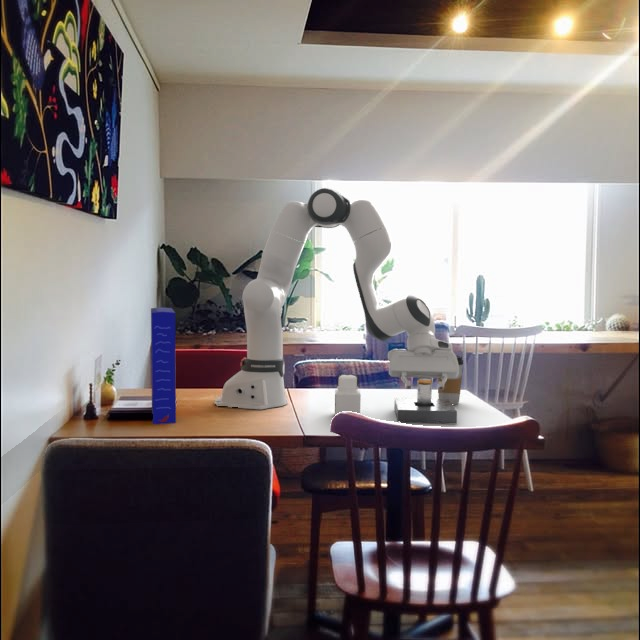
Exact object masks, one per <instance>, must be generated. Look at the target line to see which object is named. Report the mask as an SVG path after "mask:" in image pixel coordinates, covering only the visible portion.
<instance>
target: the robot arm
mask: <svg viewBox="0 0 640 640" xmlns="http://www.w3.org/2000/svg"><path fill="white" fill-rule="evenodd" d="M339 226H342V227H343V228H345V230H347V233H348V234H349V236H350V238H351V240H352V242H353V244H354V248H355V261H354V262H353V265H352V267H353V268H352V269H353V275H354V280H355V284H356V287H357V290H358V294H359V298H360V301H361V302H360V303H361V305H362V308H363V312H364V319H365V325H366V329H367V332H368V333H369V335H370V337H371V338H374V339H375V340H378V341H380V342H385V341H388V340H390V339H392V338H394V337H395V336H397V335H400V334H402V333H406V335H407V339H406V340H407V341H406V348H399V349H398V348H393V349H391V350H389V351H388V352H387V360H388V362H389V365H388V375H390V377H391V378H400V380H401V381H402V382H403V384H404V385H405V386H404V387H405V389H406V390H407V389H408V390H411V388H412V382H411V381H412V380H408V378H417V379H418V378H420V377H427V378H432V379H438V378H442V382H439V384H438V383H437V388H438V387H439V389H440V390H444V384H445V382H446V381H447V378H456V377H457V376H458V374H459V365H458V360H457V357H456V355H457V354H456V353H455V352H454V351H453V344H452V343H450V342H447V341H444V340H440V339H437V338H436V335H435V334H436V325H435V319H434V315H433V311H432V310H431V308H430V306H429V305H428V304H426V303H425V302H424V301H423V300H422V299H420V298H419V297H416V296H414V295H413V294H412V295H411V294H409V295H406V296H405V295H404V296H403V297H401V298H399V299H396V300H394V301H392V302H390V303H388V304H385V305H383V306H380V304H379V301H378V298H377V293H376V290H375V287H374V283H373V282H374V281H373V280H374V276H375V273H376V271H378V269H379V268H381V266H382V265H383V264H384V262H386V260H387V259H388V258H389V256H390V255H391V253H392V249H393V238H392V236H391V233H390V231H389V229H388V227H387V225H386V221H384V218H383V216H382V214H381V213H380V211H379V210H378V209H377V207H376V205H375V204H374V203H373V202H372V201H371V200H370V199H368V198H359V199H355V200H352V201H350V200H349V199H348V198H347V197H345V196H344V195H342V194H341V193H340V192H339V191H337V190H335V189H333V188H329V187H324V188H322V187H321V188H319V189H317V190H316V191H314V192H313V193H312V194H311V195H310V196H309V199H308V202H305V203H304V202H301V201H297V200H291V201H288V202H286V203H285V204H284V205H283V207H282V208H281V209H280V211H279V213H278V215H277V216H276V218H275V220H274V223H273V225H272V226H271V230H270V232H269V236H268V237H267V240H266V243H265V245H264V249H263V251H262V253H261V260H260V265H259V269H258V273H257V277H256V278H255V279H251V280H250V281H249V282H248V283H247V284H246V285H245V287H244V289H243V292H242V295H241V296H242V297H241V299H242V302H243V310H244V311H243V312H244V319H245V326H246V356H247V357H243V358H242V359H241V361H240V369H241V370H239V371H238V372H236V373H235V374H234V375H233V376H231V377H230V378H229V379H228V380H226V382H225V383H224V385H223V388H222V392H221V396H219V397H217V398H215V400H214V405H215V404H216V405H217V406H216V407H218V406H228V407H227V408H232V407H238V408H237V409H246V410H247V409H249V410H266V409H270V408H271V409H272V408H278V407H283V406H285V405H287V404H288V399H287V395H286V389H285V382H284V376H285V368H286V367H285V358H284V355H283V354H284V353H283V352H284V351H283V350H284V347H283V346H284V339H283V338H284V332H283V327H282V318H281V317H282V316H281V308H283V307H284V305H285V303H286V301H287V297H288V294H289V291H290V288H291V285H292V281H293V278H294V275H295V272H296V267H297V265H298V262H299V261H300V257H301V255H302V252H303V250H304V247H305V245H306V242H307V239H308V236H309V234H310V233H311V231H312V229H313V228H323V229H333V228H336V227H339Z"/></svg>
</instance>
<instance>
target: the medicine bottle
mask: <svg viewBox="0 0 640 640" xmlns="http://www.w3.org/2000/svg"><path fill="white" fill-rule="evenodd" d="M336 380H337V381H336V382H337V384H336V389H335V390H334V415H335V414H337V413H339V412H342V411H352V412H357V413H360V414H361V401H362V399H361V390H360V389H359V376H358V375H356V374H354V373H341V374H339V375H337V377H336Z"/></svg>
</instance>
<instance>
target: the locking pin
mask: <svg viewBox="0 0 640 640" xmlns="http://www.w3.org/2000/svg"><path fill="white" fill-rule="evenodd" d="M432 386H433V378H427V377H420V378H417V390H416V391H417V393H416V396H417V398H416V399H417V406H430V407H431V399H432V395H433V394H432V392H433V391H432V389H433V387H432Z"/></svg>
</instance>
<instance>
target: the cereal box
mask: <svg viewBox="0 0 640 640" xmlns="http://www.w3.org/2000/svg"><path fill="white" fill-rule="evenodd" d="M150 327H151V328H150V330H151V331H150V341H151V342H150V348H151V349H150V351H151V354H150V355H151V360H150V361H151V366H150V368H151V370H150V371H151V415H152V414H153V419H152V424H153V425H160V424H161V425H163V424H164V425H165V424H176V422H177V417H176V416H177V412H176V409H177V407H176V405H177V404H176V403H177V401H176V398H177V396H176V393H177V391H176V389H177V388H176V383H177V382H176V374H177V373H176V370H177V369H176V365H177V364H176V362H177V361H176V312H175V311H174V309H173V308H172V307H151V308H150Z"/></svg>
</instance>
